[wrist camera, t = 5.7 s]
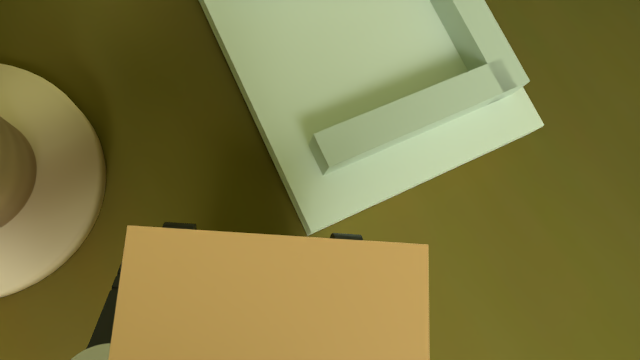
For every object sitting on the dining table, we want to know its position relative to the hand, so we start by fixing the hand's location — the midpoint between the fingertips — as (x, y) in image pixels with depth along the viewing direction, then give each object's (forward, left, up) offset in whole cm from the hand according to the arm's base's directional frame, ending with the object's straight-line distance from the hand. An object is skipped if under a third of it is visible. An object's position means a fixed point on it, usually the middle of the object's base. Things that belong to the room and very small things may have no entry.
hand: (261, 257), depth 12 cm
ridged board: (-6, +7, -4) cm, 10 cm away
